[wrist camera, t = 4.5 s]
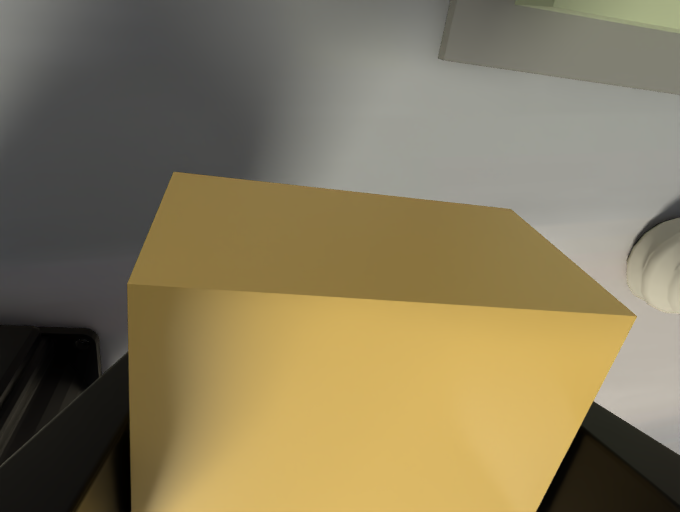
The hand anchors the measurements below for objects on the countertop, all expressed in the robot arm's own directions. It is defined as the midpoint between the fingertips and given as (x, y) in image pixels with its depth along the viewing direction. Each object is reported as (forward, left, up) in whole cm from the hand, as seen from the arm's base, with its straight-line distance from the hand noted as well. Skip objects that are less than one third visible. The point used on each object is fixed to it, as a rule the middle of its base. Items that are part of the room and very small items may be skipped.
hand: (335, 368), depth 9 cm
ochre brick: (0, 0, -1) cm, 1 cm away
